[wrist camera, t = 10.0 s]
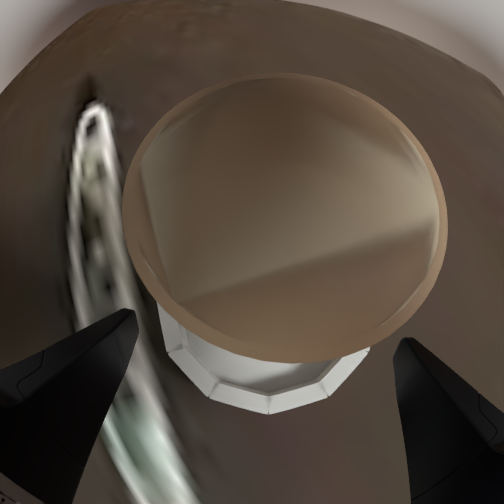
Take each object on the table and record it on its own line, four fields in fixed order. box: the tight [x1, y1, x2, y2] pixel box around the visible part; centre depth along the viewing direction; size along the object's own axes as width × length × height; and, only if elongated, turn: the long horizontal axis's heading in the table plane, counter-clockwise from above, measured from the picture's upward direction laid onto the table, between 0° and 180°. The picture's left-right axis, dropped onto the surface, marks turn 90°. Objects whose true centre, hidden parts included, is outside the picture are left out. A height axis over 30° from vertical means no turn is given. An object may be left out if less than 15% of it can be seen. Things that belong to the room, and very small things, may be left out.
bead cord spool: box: [122, 73, 448, 364], centre depth 11 cm, size 6×6×13 cm
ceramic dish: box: [157, 302, 370, 414], centre depth 17 cm, size 12×12×2 cm
